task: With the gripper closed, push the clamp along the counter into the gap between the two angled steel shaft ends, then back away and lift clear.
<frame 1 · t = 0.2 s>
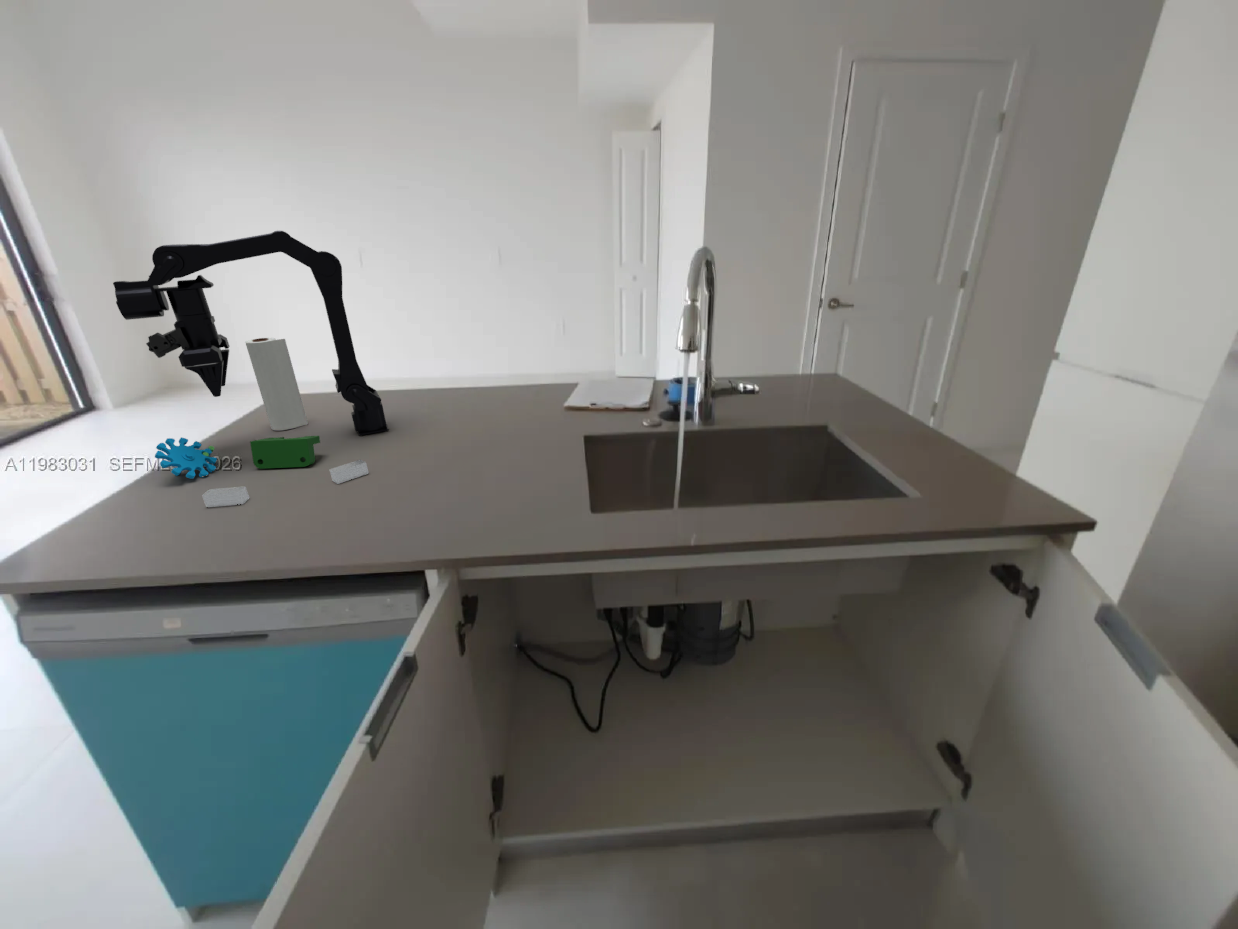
hand: (219, 391, 113), 14 cm above the worktop, tool pointing down, fingers open, 9 cm apart
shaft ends: (292, 489, 102), on the worktop
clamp: (292, 463, 114), on the worktop
gear: (196, 475, 110), on the worktop
paper towel roll: (287, 428, 134), on the worktop
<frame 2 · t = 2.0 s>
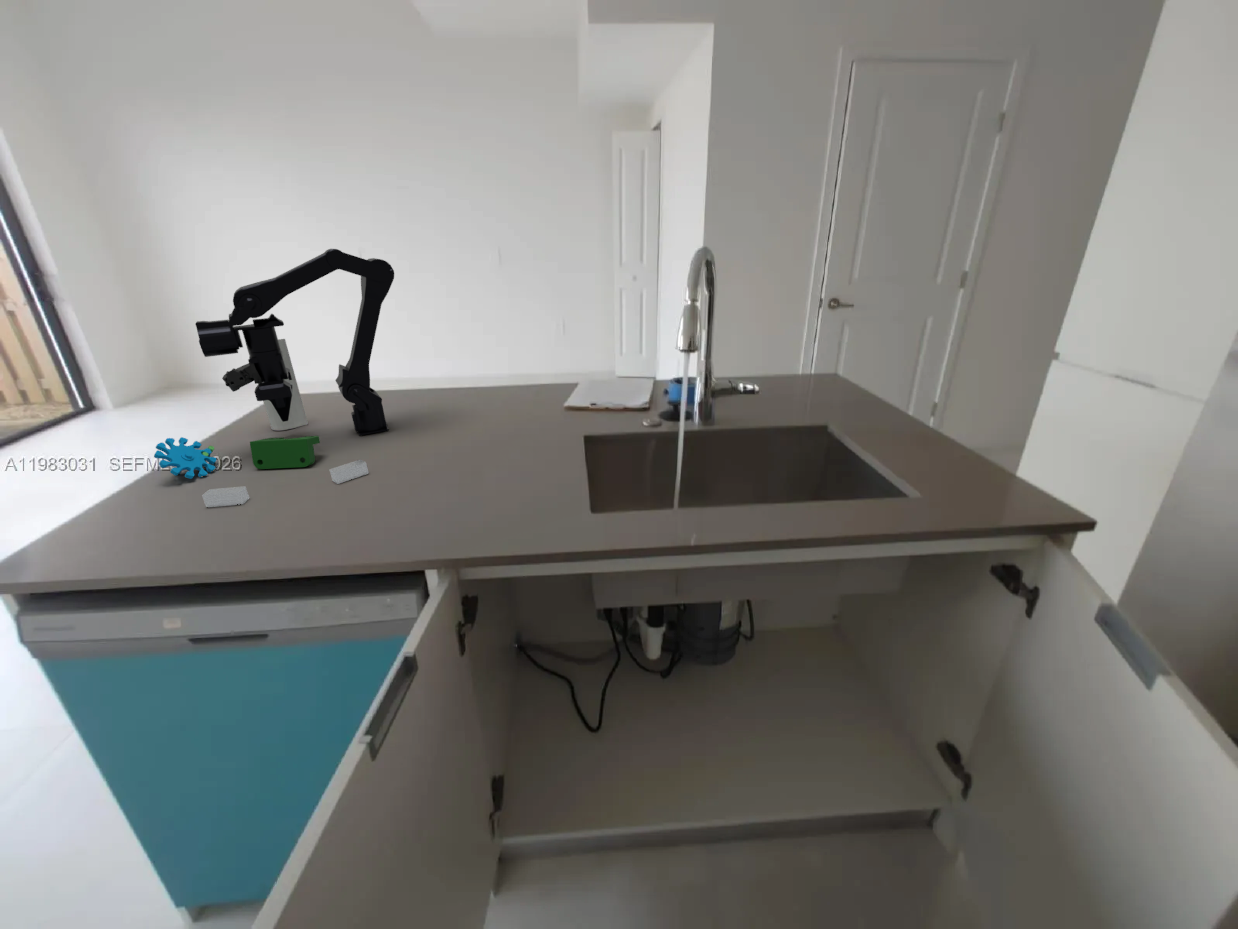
hand: (285, 420, 120), 6 cm above the worktop, tool pointing down, fingers closed
nothing on the worktop moved.
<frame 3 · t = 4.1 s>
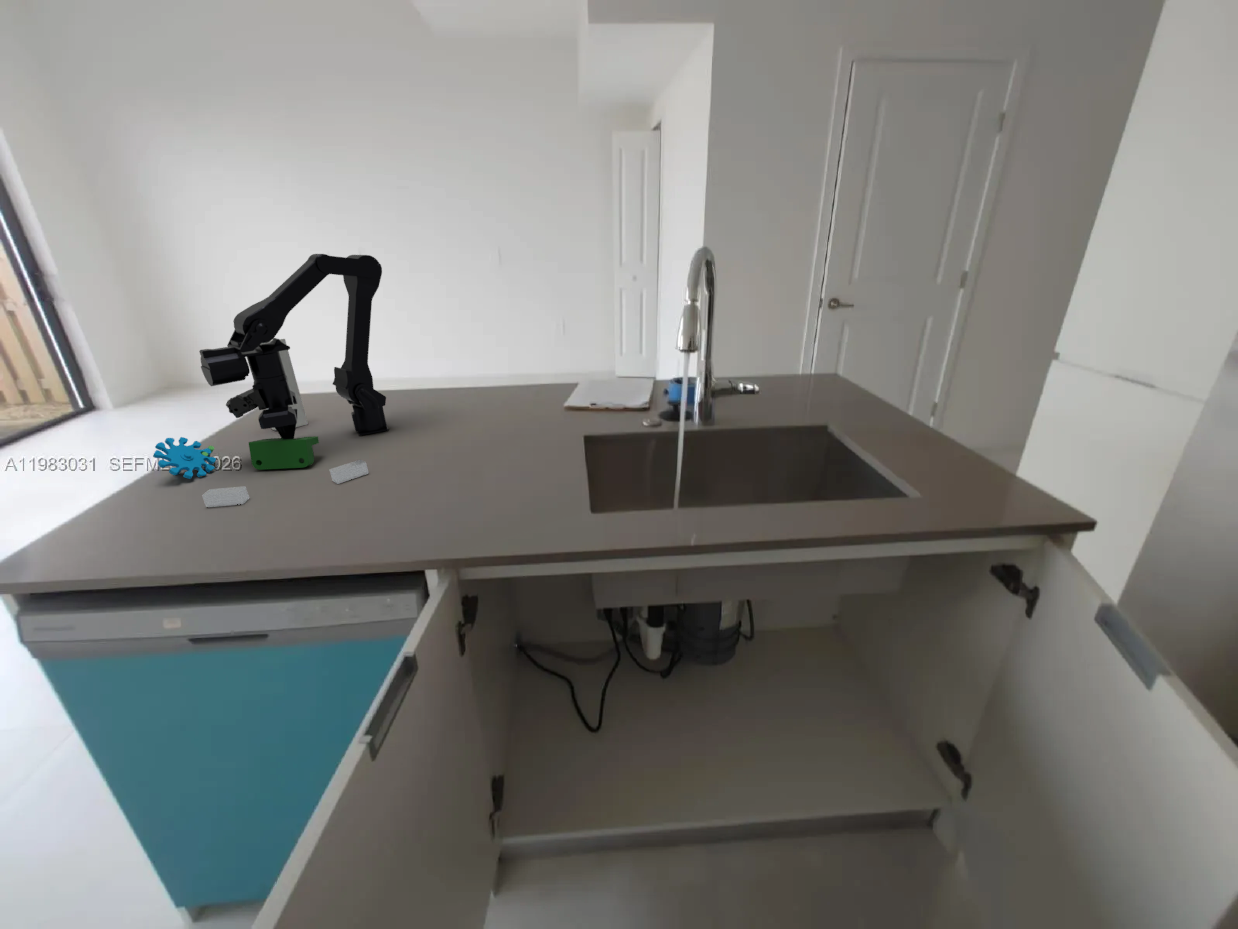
hand: (289, 446, 118), 2 cm above the worktop, tool pointing down, fingers closed
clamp: (291, 464, 113), on the worktop, touching gripper
everything else where it was.
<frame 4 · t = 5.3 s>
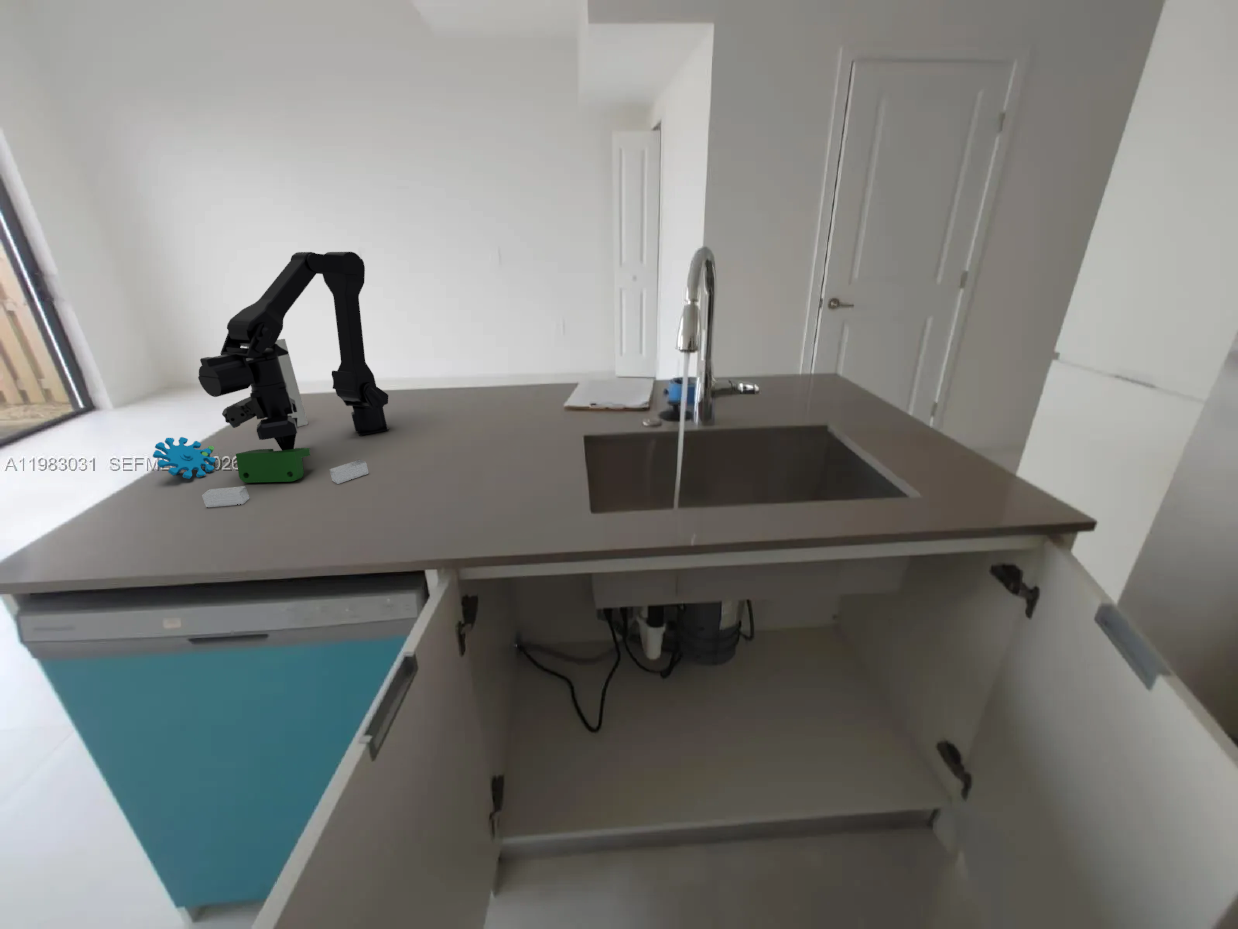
hand: (289, 456, 112), 2 cm above the worktop, tool pointing down, fingers closed
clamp: (280, 477, 107), on the worktop, touching gripper
everything else where it was.
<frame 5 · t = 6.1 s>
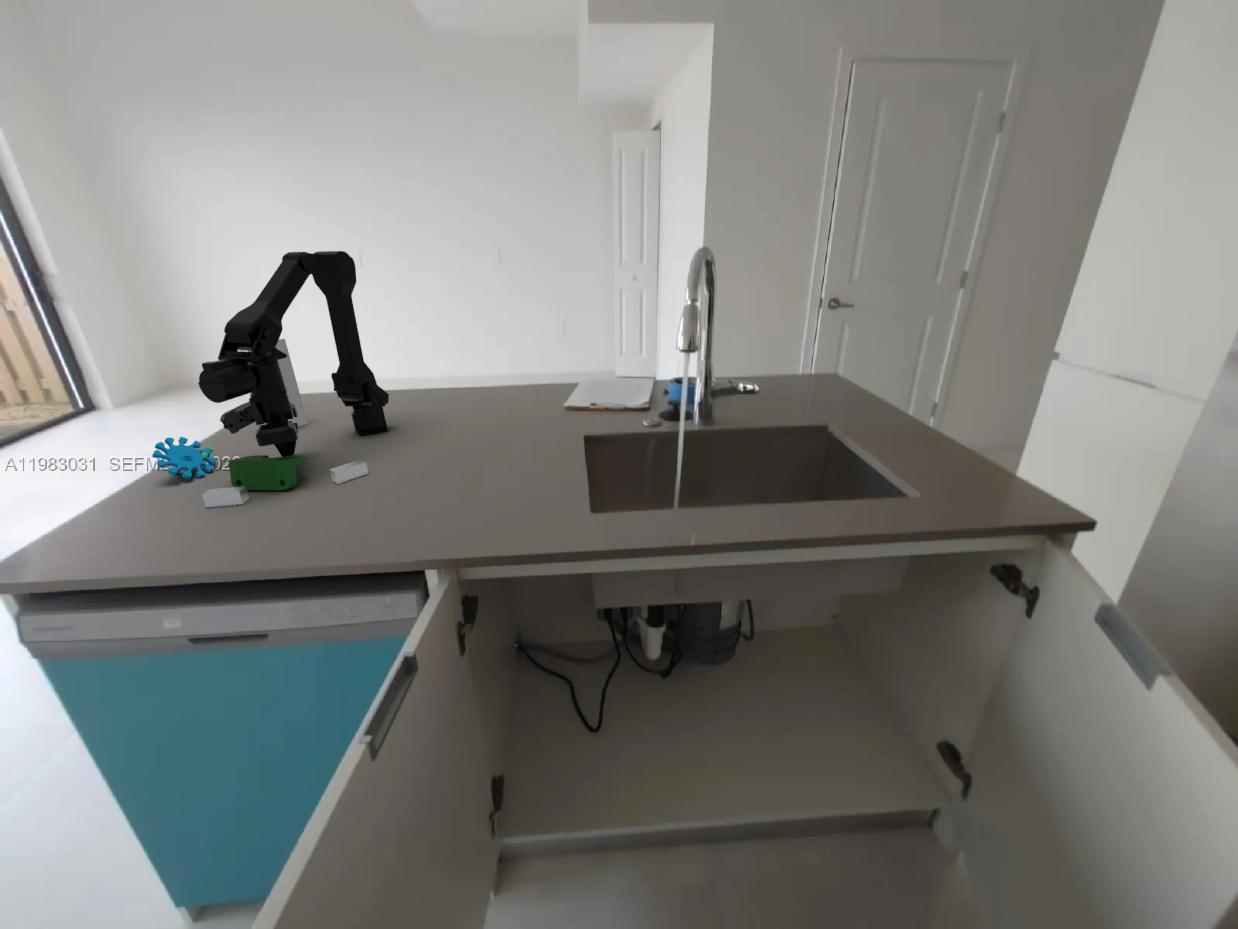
hand: (289, 463, 109), 2 cm above the worktop, tool pointing down, fingers closed
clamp: (274, 485, 104), on the worktop, touching gripper
everything else where it was.
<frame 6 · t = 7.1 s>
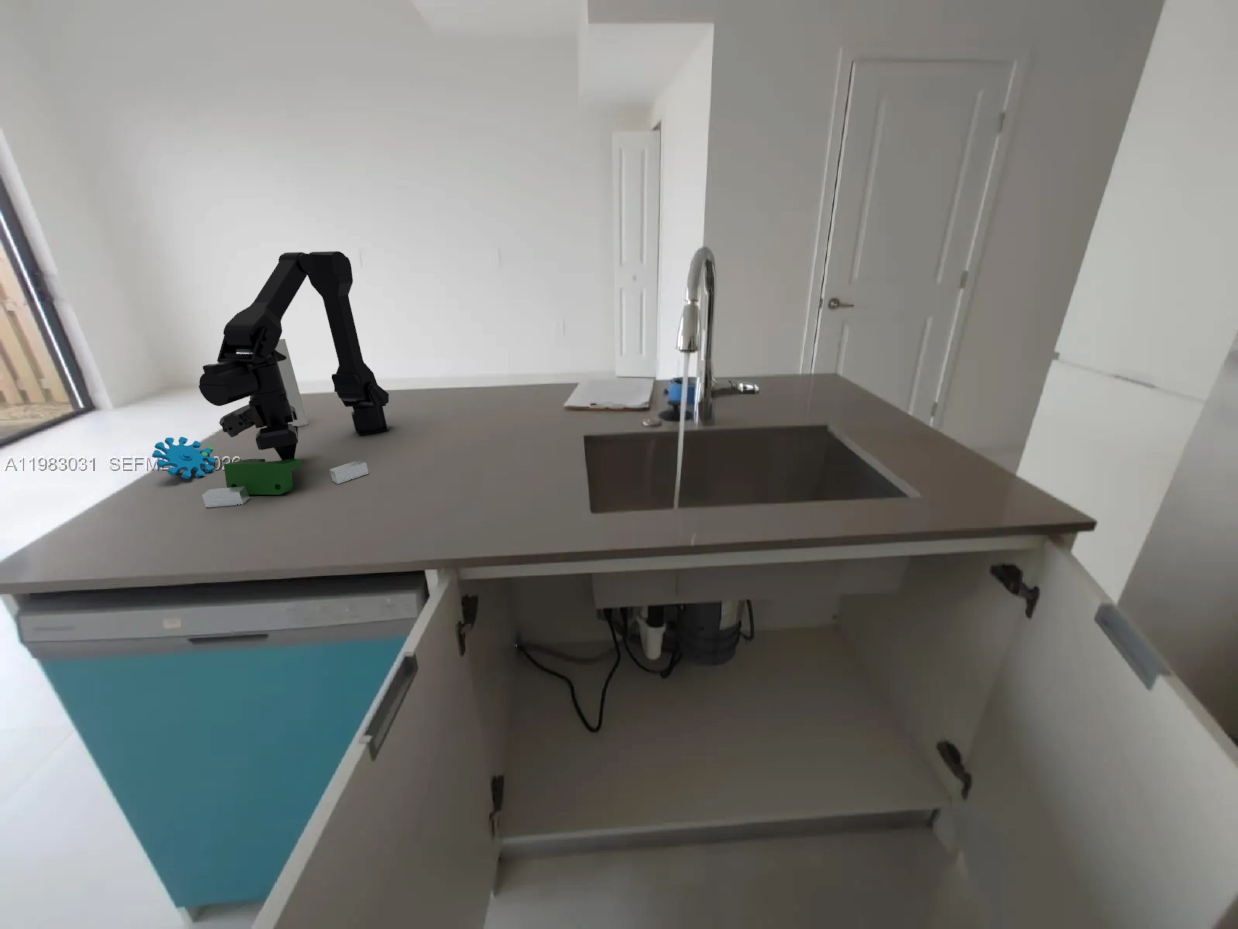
hand: (289, 466, 107), 2 cm above the worktop, tool pointing down, fingers closed
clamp: (270, 489, 103), on the worktop, touching gripper
everything else where it was.
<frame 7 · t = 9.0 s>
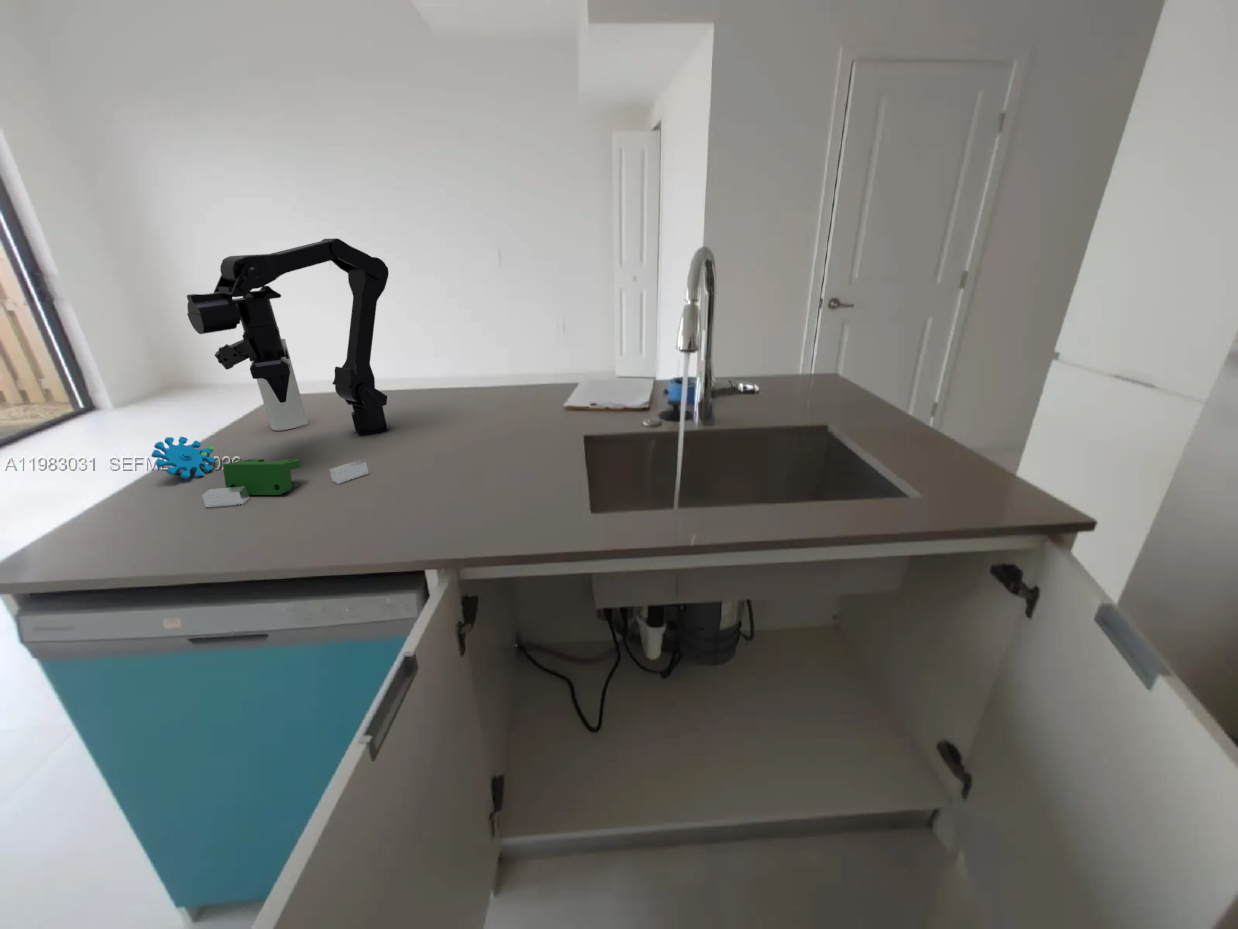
hand: (282, 401, 113), 12 cm above the worktop, tool pointing down, fingers closed
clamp: (269, 489, 103), on the worktop
everything else where it was.
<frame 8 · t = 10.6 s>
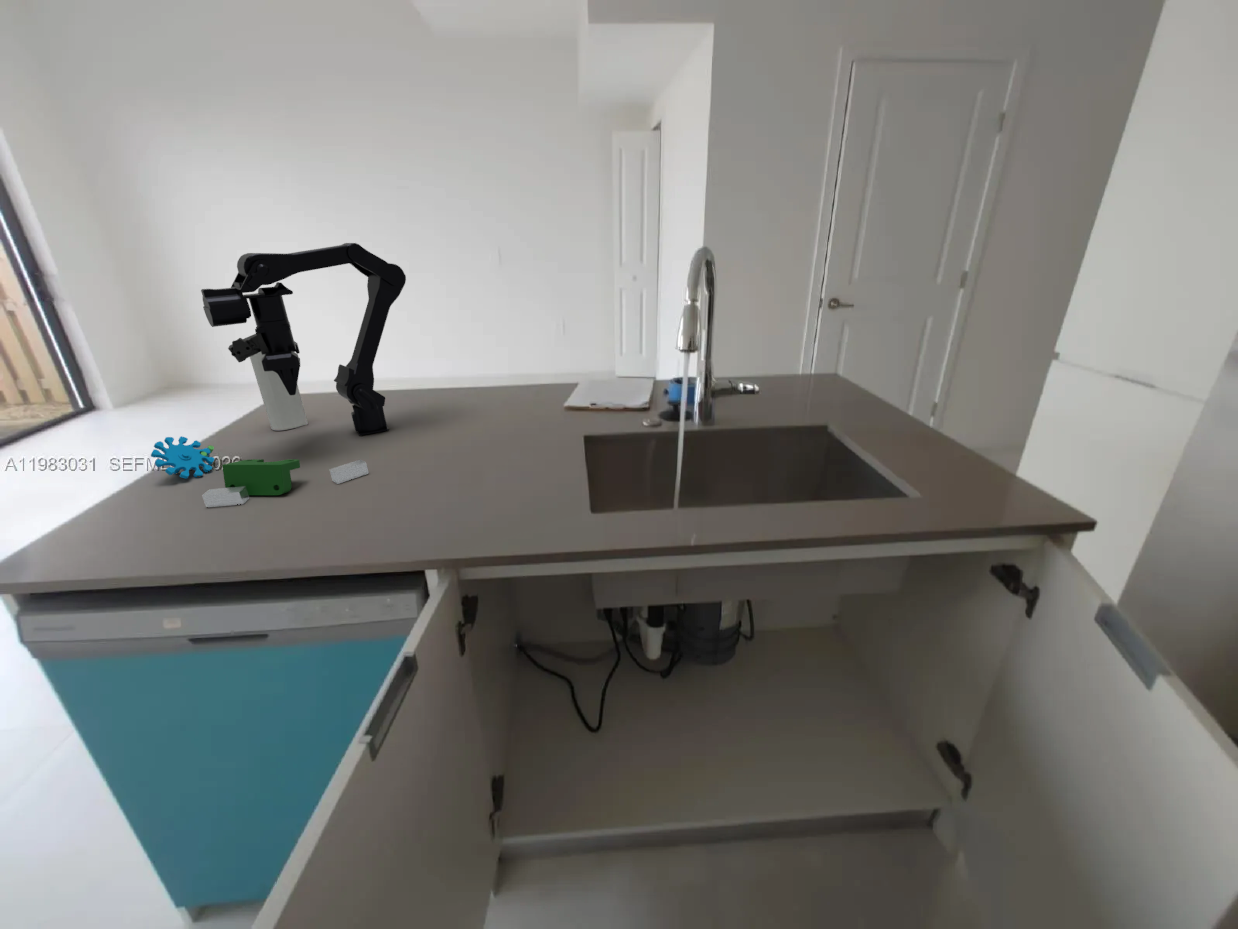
hand: (292, 394, 117), 12 cm above the worktop, tool pointing down, fingers closed
nothing on the worktop moved.
at the end: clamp inside the target area on the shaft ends (4.1 cm from its centre), point 0.0 cm above the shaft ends's base; the gripper is holding nothing; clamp tilted 0° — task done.
